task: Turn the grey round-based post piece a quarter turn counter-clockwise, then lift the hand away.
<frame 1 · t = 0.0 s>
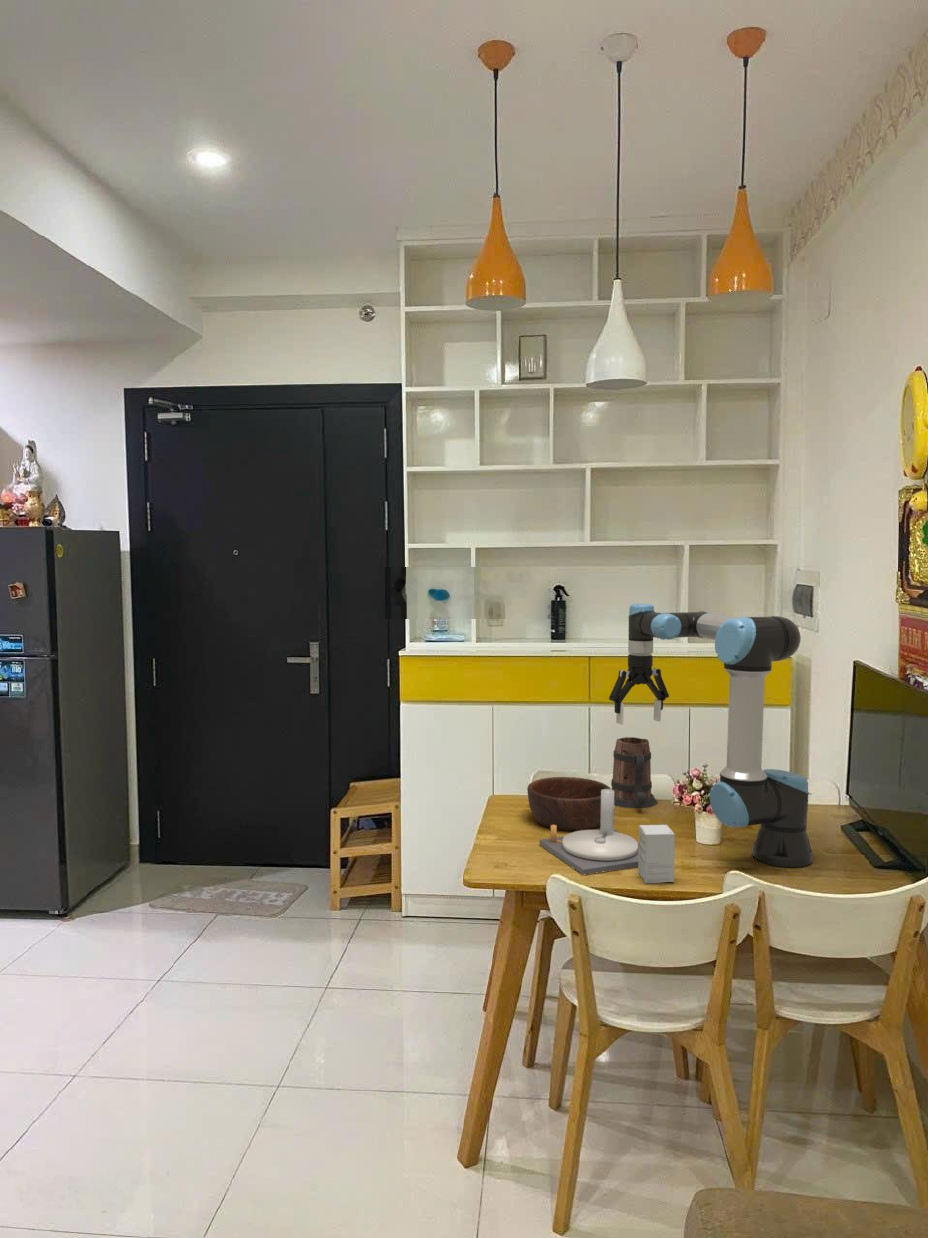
hand: (638, 722, 274), 28 cm above the table, tool pointing down, fingers open, 13 cm apart
wooden bowl: (568, 821, 266), on the table
grey round-based post piece: (600, 822, 237), point 9 cm above the table, hinge at 0.0°
supplement box: (655, 879, 221), on the table
dial plate: (599, 853, 238), on the table
tankard: (633, 804, 284), on the table
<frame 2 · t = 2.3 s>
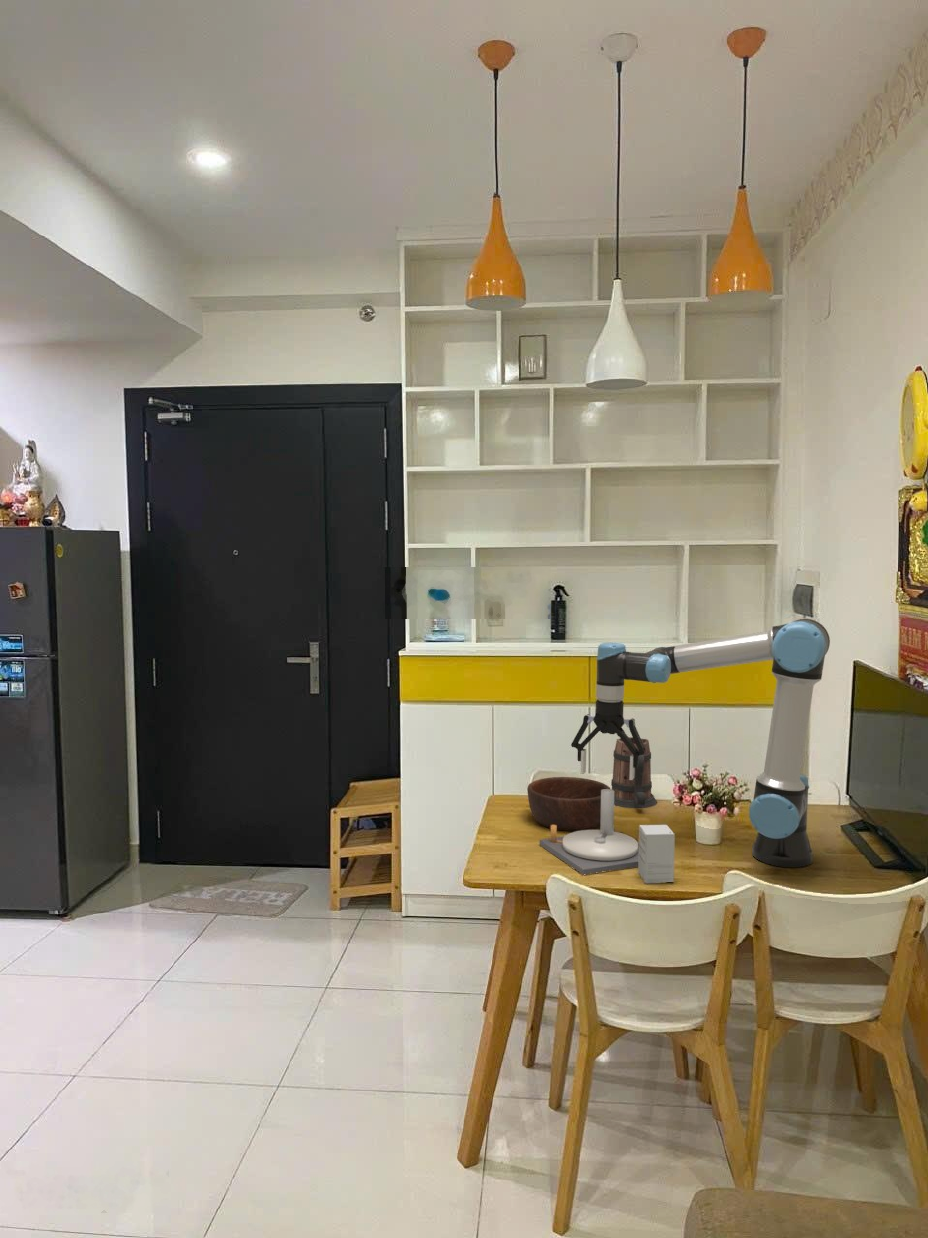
hand: (607, 776, 243), 19 cm above the table, tool pointing down, fingers open, 13 cm apart
nothing on the table moved.
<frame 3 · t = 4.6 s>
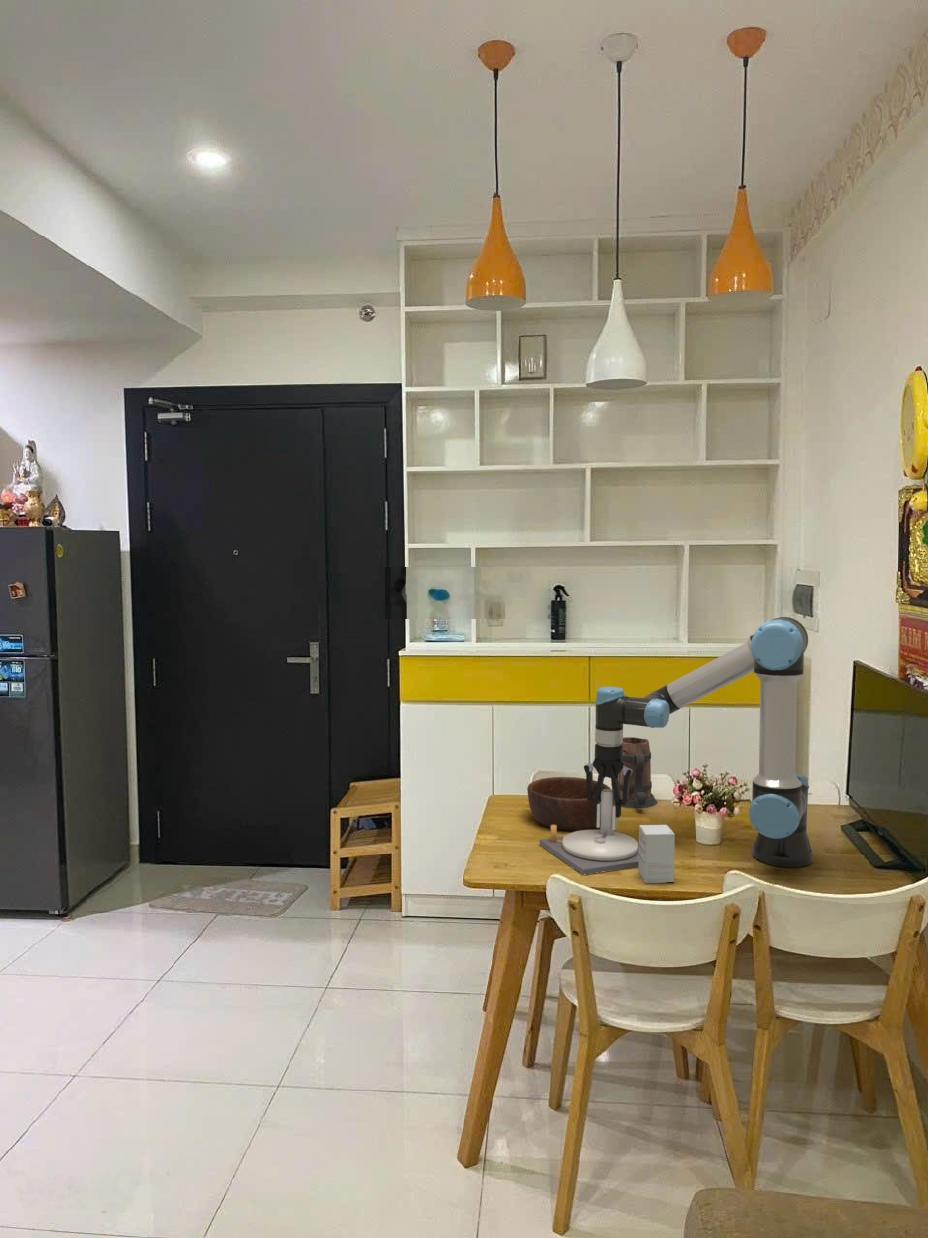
hand: (606, 827, 244), 5 cm above the table, tool pointing down, fingers closed on grey round-based post piece, 4 cm apart
grey round-based post piece: (600, 822, 237), point 9 cm above the table, hinge at 0.0°, touching gripper
everything else where it was.
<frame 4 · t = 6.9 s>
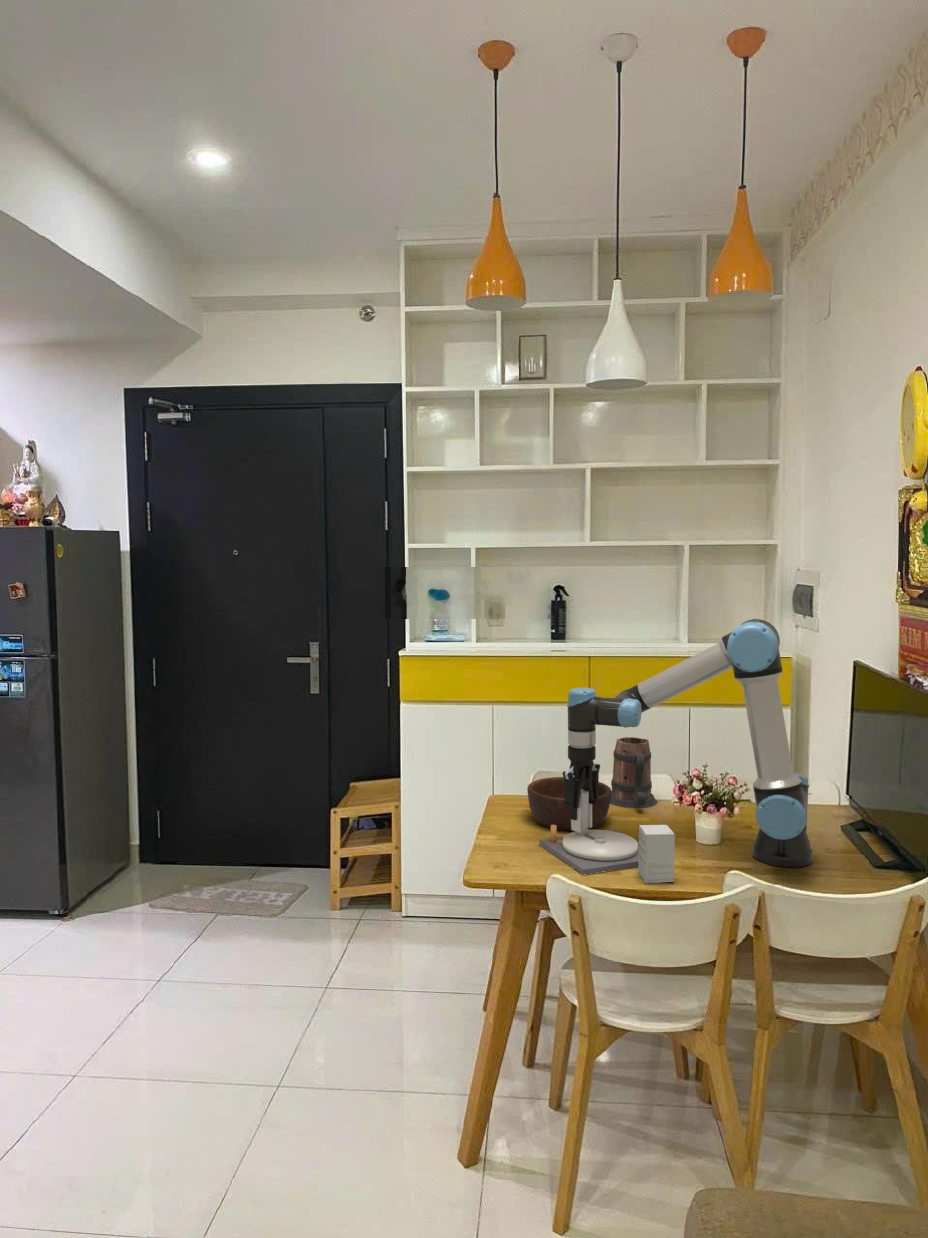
hand: (581, 828, 243), 5 cm above the table, tool pointing down, fingers open, 4 cm apart
grey round-based post piece: (600, 822, 237), point 9 cm above the table, hinge at 57.0°, touching gripper
everything else where it was.
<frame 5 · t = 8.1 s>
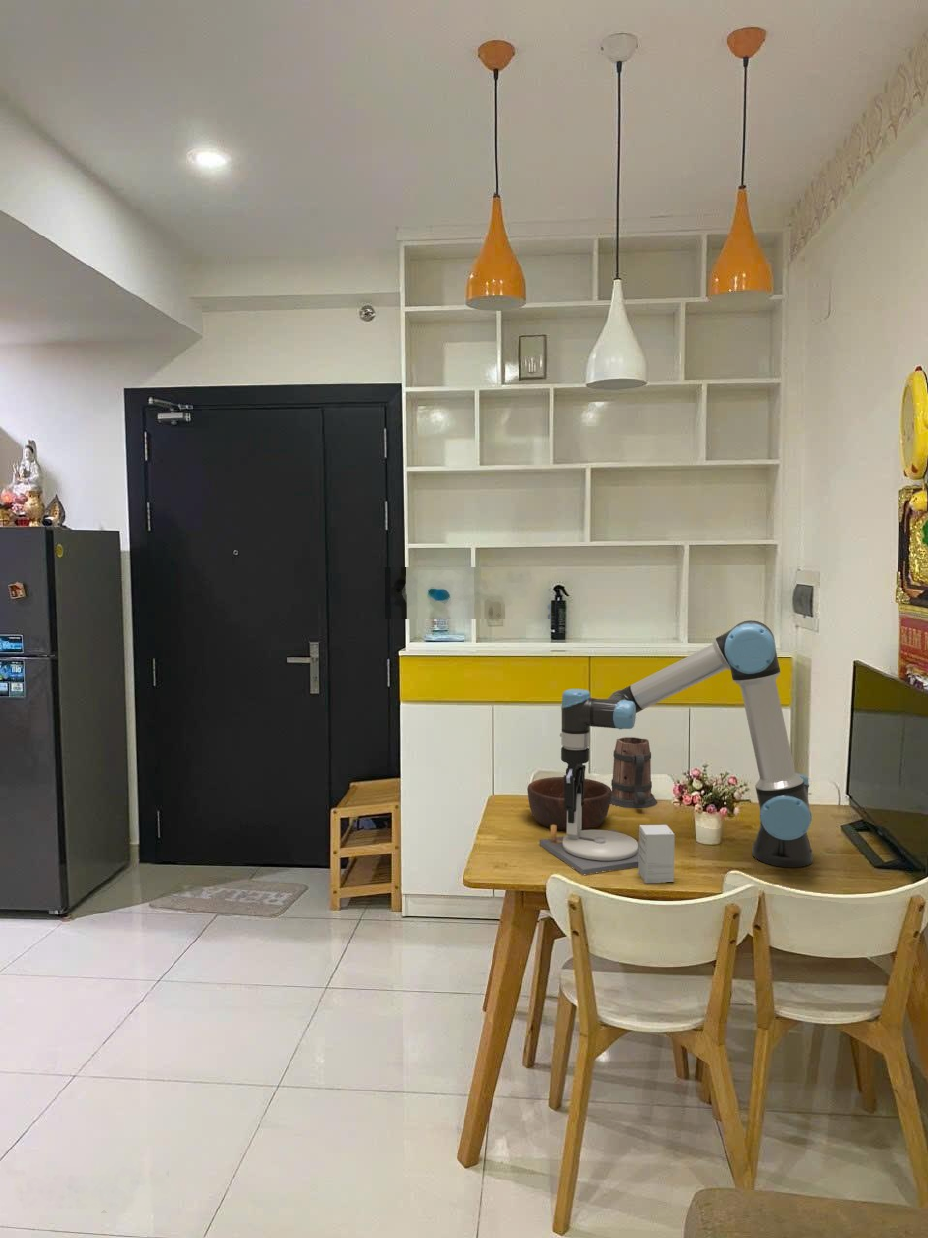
hand: (574, 831, 241), 5 cm above the table, tool pointing down, fingers closed on grey round-based post piece, 4 cm apart
grey round-based post piece: (600, 822, 237), point 9 cm above the table, hinge at 85.7°, touching gripper
everything else where it was.
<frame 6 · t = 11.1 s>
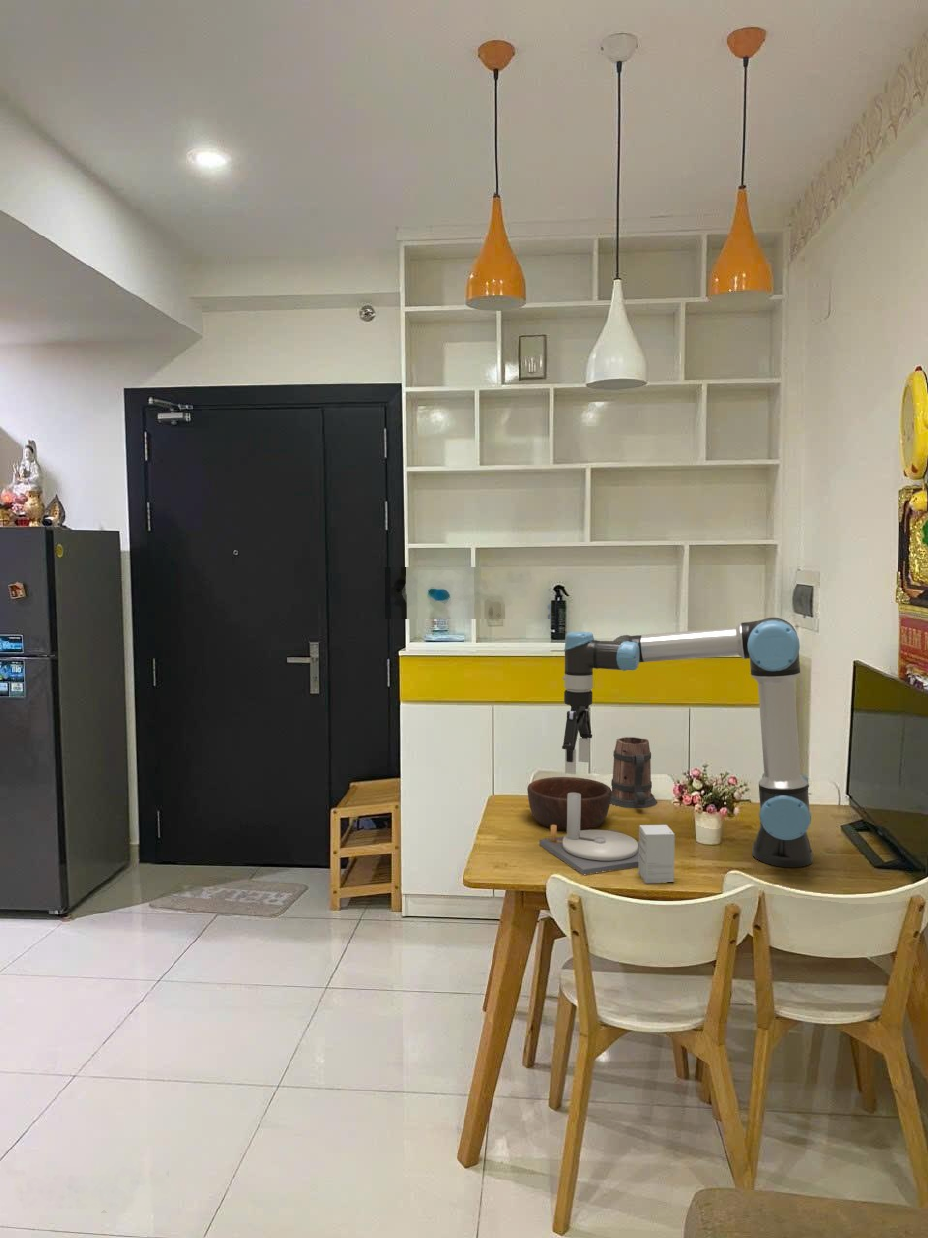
hand: (577, 767, 239), 23 cm above the table, tool pointing down, fingers open, 13 cm apart
grey round-based post piece: (600, 822, 237), point 9 cm above the table, hinge at 87.4°
everything else where it was.
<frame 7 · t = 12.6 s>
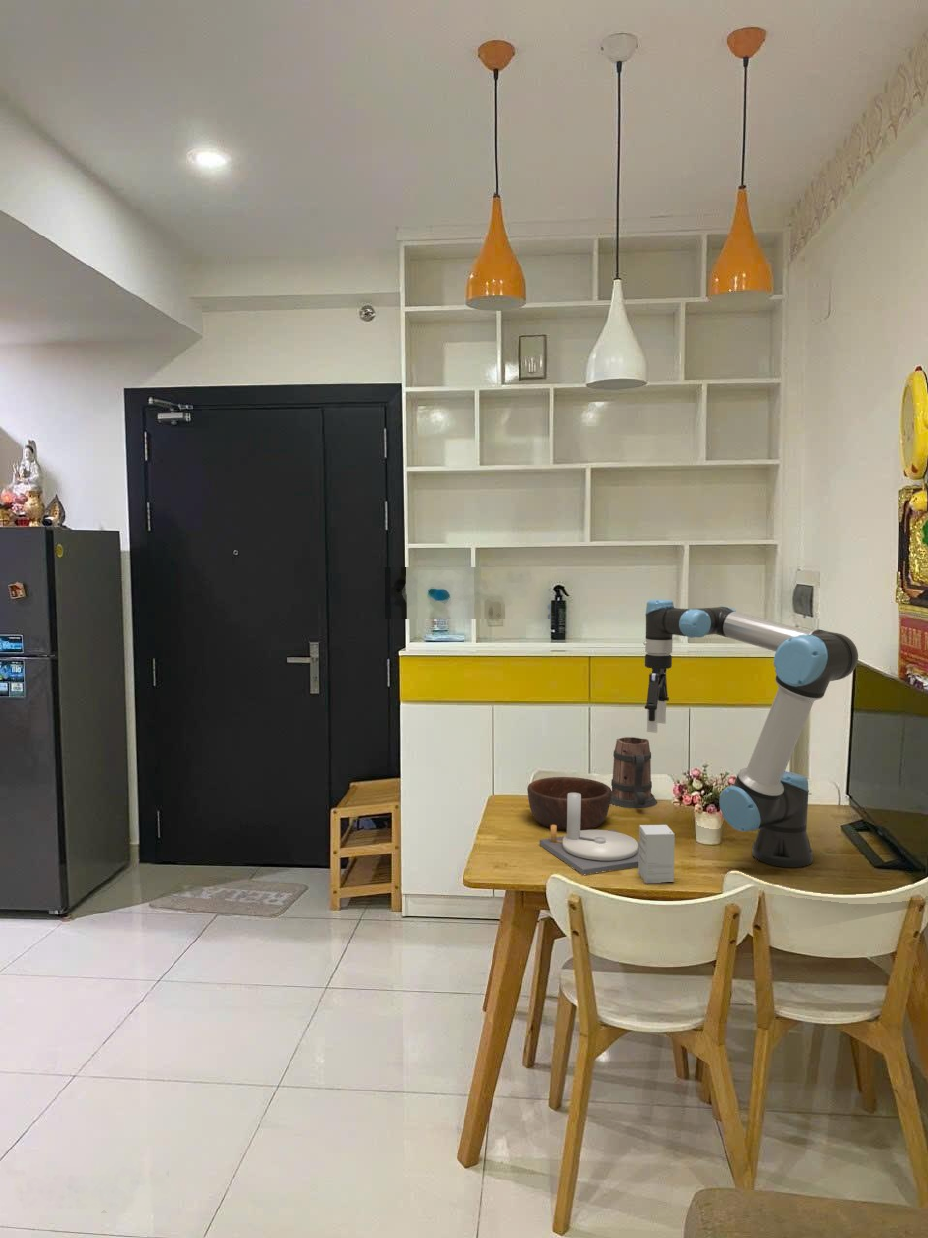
hand: (656, 727, 253), 31 cm above the table, tool pointing down, fingers open, 13 cm apart
nothing on the table moved.
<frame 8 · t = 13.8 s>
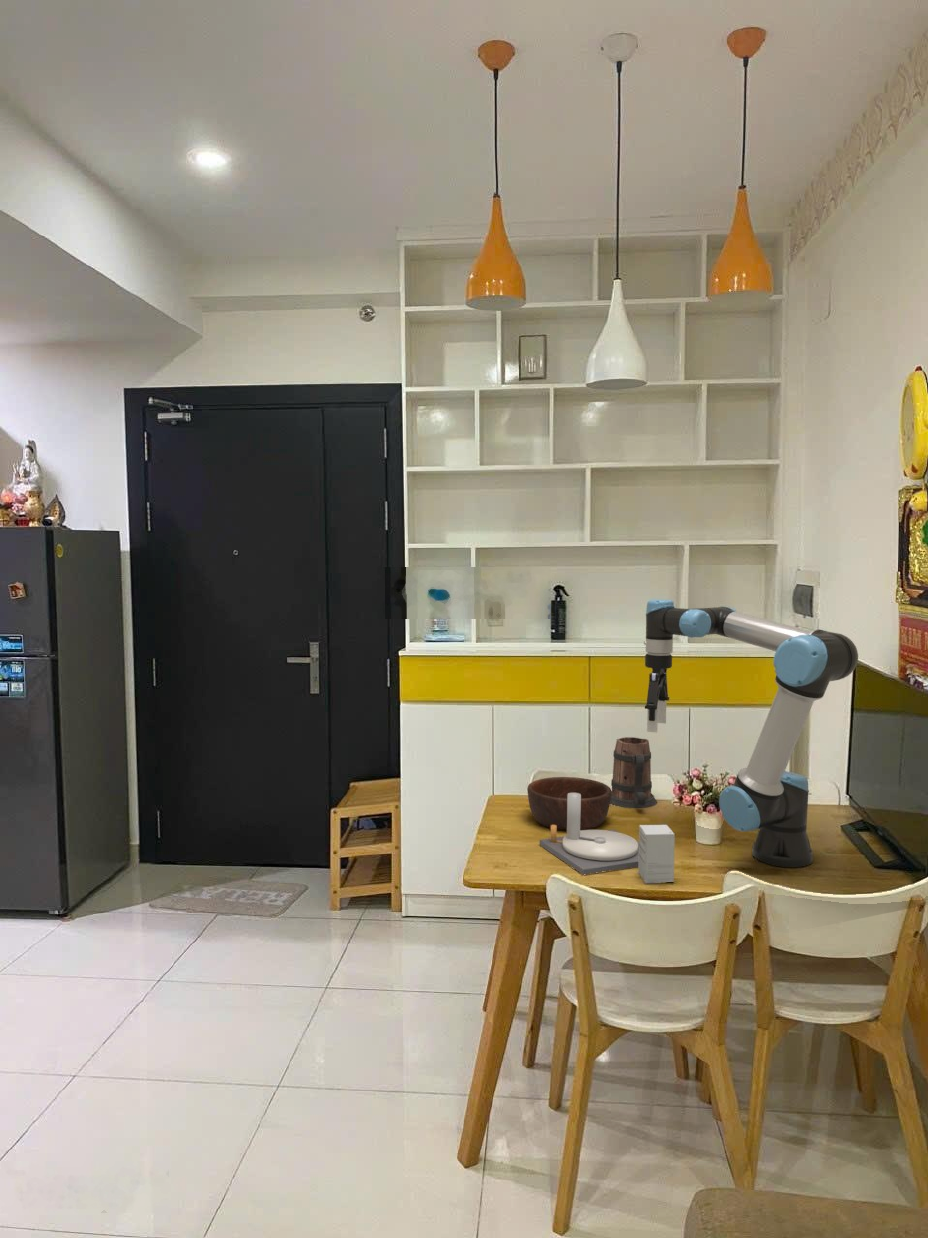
hand: (656, 727, 253), 31 cm above the table, tool pointing down, fingers open, 13 cm apart
nothing on the table moved.
at the end: grey round-based post piece at +87° (first picture: +0°); the gripper is holding nothing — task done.
